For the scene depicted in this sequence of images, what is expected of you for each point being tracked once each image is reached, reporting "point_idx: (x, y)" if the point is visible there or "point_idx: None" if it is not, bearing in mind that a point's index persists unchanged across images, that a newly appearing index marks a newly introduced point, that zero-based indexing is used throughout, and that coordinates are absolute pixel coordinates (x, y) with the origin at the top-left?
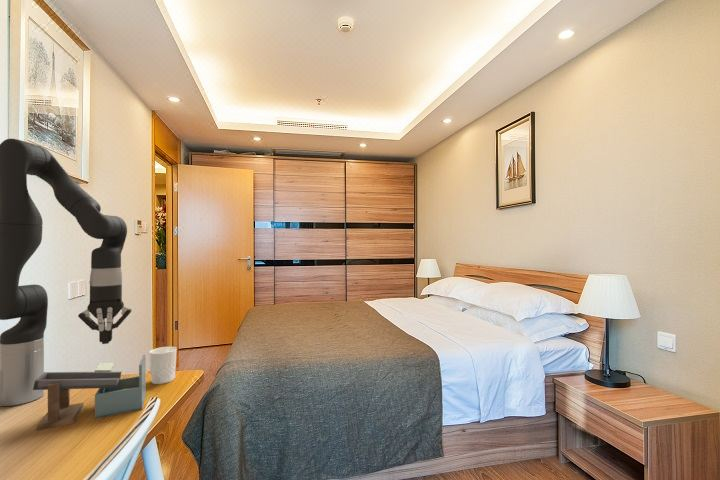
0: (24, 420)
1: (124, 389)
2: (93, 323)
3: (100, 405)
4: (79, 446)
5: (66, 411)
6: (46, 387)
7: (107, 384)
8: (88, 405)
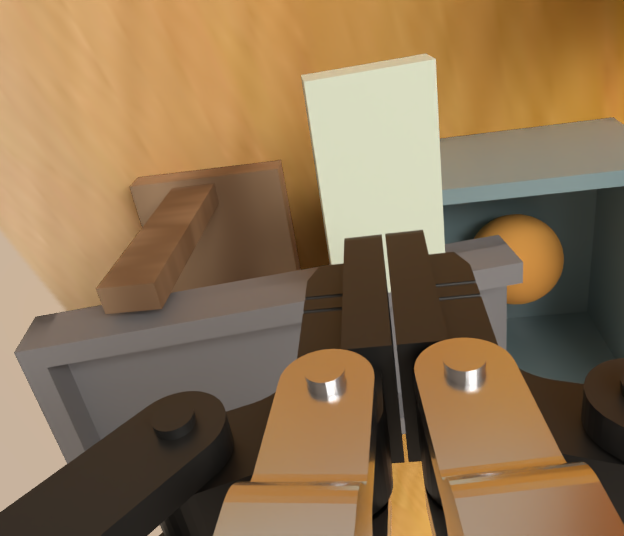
0: (61, 223)
1: None
2: (129, 517)
3: None
4: (408, 504)
5: (240, 263)
6: None
7: None
8: (299, 148)
